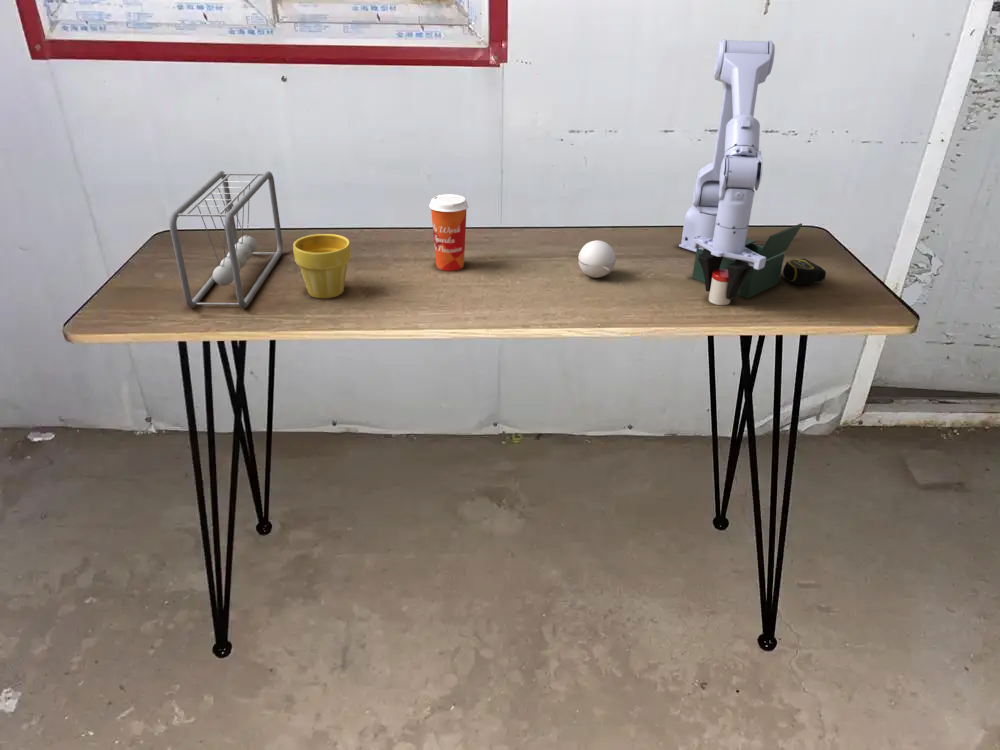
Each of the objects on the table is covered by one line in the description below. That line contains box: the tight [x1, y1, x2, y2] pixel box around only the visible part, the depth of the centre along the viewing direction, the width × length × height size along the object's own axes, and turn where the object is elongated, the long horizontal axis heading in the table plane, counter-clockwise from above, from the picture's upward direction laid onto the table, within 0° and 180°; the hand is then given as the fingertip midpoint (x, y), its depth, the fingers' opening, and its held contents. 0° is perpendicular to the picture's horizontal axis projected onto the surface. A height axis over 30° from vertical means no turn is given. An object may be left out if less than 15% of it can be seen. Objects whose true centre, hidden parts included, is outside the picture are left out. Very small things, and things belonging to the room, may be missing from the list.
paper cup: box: [429, 193, 470, 272], centre depth 155 cm, size 8×8×14 cm
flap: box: [759, 223, 803, 259], centre depth 144 cm, size 6×11×1 cm
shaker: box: [708, 269, 732, 306], centre depth 144 cm, size 4×4×6 cm
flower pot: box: [292, 233, 352, 299], centre depth 145 cm, size 10×10×10 cm
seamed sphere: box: [577, 239, 616, 279], centre depth 152 cm, size 10×7×7 cm
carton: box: [691, 237, 785, 299], centre depth 152 cm, size 13×11×7 cm
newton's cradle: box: [168, 170, 284, 309], centre depth 147 cm, size 30×10×18 cm, turn 0°
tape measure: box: [782, 258, 827, 286], centre depth 153 cm, size 7×7×4 cm
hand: (720, 293), depth 145 cm, fingers closed on shaker, 4 cm apart
